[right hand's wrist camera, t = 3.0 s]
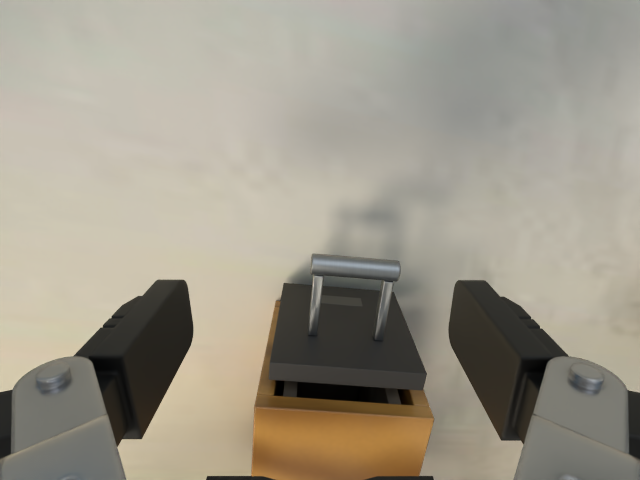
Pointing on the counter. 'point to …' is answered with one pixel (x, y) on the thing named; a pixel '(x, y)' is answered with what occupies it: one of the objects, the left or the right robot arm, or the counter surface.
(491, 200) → the counter surface
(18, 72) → the counter surface
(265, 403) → the zigzag wood grain block
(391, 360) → the drawer
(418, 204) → the counter surface
